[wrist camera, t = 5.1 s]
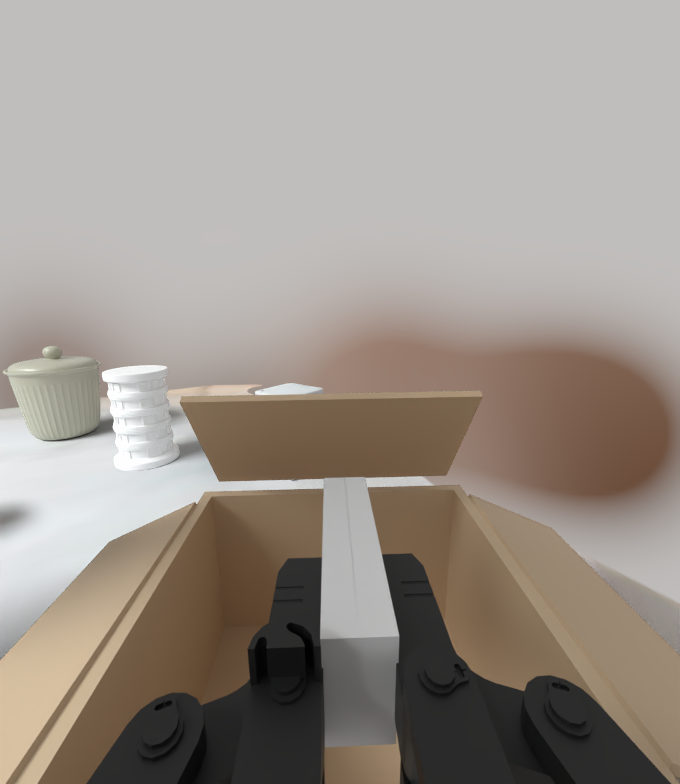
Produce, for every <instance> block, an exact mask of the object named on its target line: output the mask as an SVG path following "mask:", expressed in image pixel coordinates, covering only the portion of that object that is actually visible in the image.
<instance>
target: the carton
mask: <svg viewBox="0 0 680 784" xmlns="http://www.w3.org/2000/svg"><path fill="white" fill-rule="evenodd" d="M367 489H368V493H369V498H370V502H371V507H372V512H373V516H374V521H375V526H376V530H377V535H378V540H379V544H380V549H381V553H382V554H405V553H412V554H413V555H414V556H415V557H416V558H417V559H418V560H419V562H420V563H421V564H422V565H423V566H424V568H425V571H426V574H427V577H428V579H429V584H430V585H431V588H432V590H433V593H434V597H435V598H436V601H437V604H438V607H439V609H440V612H441V615H442V618H443V620H444V623H445V626H446V628H447V631H448V634H449V637H450V639H451V642H452V645H453V647H454V649H455V651H456V653H457V655H458V656H459V657H460V658H462V659H463V660H464V661H465V662H466V663H467V665H468V666H469V668H470V669H471V670H472V671H473V672H474V673H476V674H478V675H479V676H481V677H483V678H484V679H487V680H489V681H492V682H494V683H497V684H501V685H504V686H508V687H511V688H515V689H519V690H522V691H525V688H526V685H527V683H528V682H529V681H530V680H532V679H533V678H535V677H536V676H546V675H551V676H555V677H559V678H562V679H566V680H567V681H569V682H571V683H573V684H575V685H576V686H578V687H580V688H582V689H583V690H584V691H585V692H586V693H587V694H589V695H590V696H591V697H592V698H593V699H594V700H595V701H596V702H597V703H598V704H599V705H600V706H601V707H602V708H603V709H604V710H605V711H606V712H607V714H608V715H609V716H610V717H611V718H612V719H613V720H614V721H615V722H616V723H617V725H618V726H619V727H620V728H621V729H622V730H623V731H624V732H625V733H626V734H627V735H628V737H629V738H630V739H631V740H632V741H633V742H634V743H635V744H636V745H637V746H638V748H639V749H640V750H641V751H642V752H643V753H644V754H645V755H646V756H647V757H648V759H649V760H650V761H651V762H652V763H653V764H654V765H655V766H656V767H657V768H658V770H659V771H660V772H661V773H662V774H663V775H664V776H665V777H666V778H667V779H668V781H669V782H670V783H671V784H680V783H679V782H678V781H677V779H676V778H675V777H677V778H680V655H679V654H678V653H677V652H676V651H675V650H674V649H673V648H672V647H671V646H670V645H669V644H668V643H667V642H666V641H665V640H664V639H663V638H662V637H661V636H660V635H659V634H658V633H657V632H656V631H655V630H654V629H653V628H652V627H651V626H650V625H649V624H648V623H647V622H646V621H645V620H644V619H643V618H642V617H641V616H640V615H639V614H638V613H637V612H636V611H635V610H634V609H633V608H632V607H631V606H630V605H629V604H628V603H627V602H626V601H625V600H624V599H623V598H622V597H621V596H620V595H619V594H618V593H617V592H616V591H615V590H614V589H613V588H612V587H610V586H609V585H608V584H607V583H606V582H605V581H604V580H603V579H602V578H601V577H600V576H599V575H598V574H597V573H596V572H595V571H594V570H593V569H592V568H591V567H590V566H589V565H588V564H587V563H586V562H585V561H584V560H583V559H582V558H581V557H580V556H579V555H578V554H577V553H576V552H575V551H574V550H573V549H572V548H571V547H570V546H569V545H568V544H567V543H566V542H565V541H564V540H563V539H562V538H561V537H560V536H559V535H558V534H557V533H556V532H555V531H554V530H553V529H552V528H550V527H548V526H545V525H543V524H541V523H538V522H536V521H533V520H531V519H528V518H526V517H524V516H521V515H519V514H516V513H514V512H511V511H509V510H507V509H504V508H502V507H499V506H497V505H495V504H492V503H490V502H487V501H485V500H483V499H480V498H478V497H475V496H473V495H471V494H470V495H469V496H467V495H466V493H465V492H464V490H463V489H462V488H461V486H460V485H443V486H405V487H368V488H367ZM323 496H324V489H295V490H258V491H221V492H205V493H204V494H203V496H202V497H201V499H200V500H199V502H198V503H197V504H196V502H194V503H192V504H189V505H187V506H185V507H183V508H181V509H179V510H177V511H174V512H172V513H170V514H168V515H166V516H164V517H162V518H159V519H157V520H155V521H153V522H151V523H149V524H147V525H144V526H142V527H140V528H138V529H136V530H134V531H132V532H129V533H127V534H125V535H123V536H121V537H119V538H117V539H114V540H112V541H110V542H109V543H108V544H107V545H106V546H105V547H104V548H103V549H102V550H101V552H100V553H99V554H98V555H97V556H96V557H95V558H94V559H93V560H92V561H91V562H90V563H89V565H88V566H87V567H86V568H85V569H84V570H83V571H82V572H81V573H80V574H79V575H78V576H77V578H76V579H75V580H74V581H73V582H72V583H71V584H70V585H69V586H68V587H67V588H66V589H65V591H64V592H63V593H62V594H61V595H60V596H59V597H58V598H57V599H56V600H55V601H54V603H53V604H52V605H51V606H50V607H49V608H48V609H47V610H46V611H45V612H44V613H43V614H42V616H41V617H40V618H39V619H38V620H37V621H36V622H35V623H34V624H33V625H32V626H31V627H30V629H29V630H28V631H27V632H26V633H25V634H24V635H23V636H22V637H21V638H20V639H19V641H18V642H17V643H16V644H15V645H14V646H13V647H12V648H11V649H10V650H9V651H8V652H7V654H6V655H5V656H4V657H3V658H2V659H1V660H0V784H86V783H87V782H88V781H89V779H90V778H91V776H92V775H93V773H94V772H95V770H96V769H97V768H98V766H99V765H100V763H101V762H102V760H103V759H104V757H105V756H106V754H107V753H108V752H109V750H110V749H111V747H112V746H113V744H114V743H115V741H116V740H117V739H118V737H119V736H120V734H121V733H122V731H123V730H124V728H125V727H126V726H127V724H128V723H129V722H130V721H131V720H132V719H133V717H134V716H135V715H136V714H137V713H138V712H139V711H140V709H142V708H143V707H145V706H146V705H147V704H149V703H150V702H152V701H153V700H155V699H156V698H159V697H161V696H164V695H167V694H170V693H188V694H189V695H191V696H193V697H195V698H197V699H198V701H199V703H200V705H203V704H206V703H209V702H211V701H214V700H216V699H219V698H222V697H224V696H227V695H229V694H231V693H233V692H235V691H237V690H238V689H239V688H240V687H242V686H243V685H244V684H246V683H247V682H248V680H249V679H250V673H249V662H248V650H247V649H248V647H249V644H250V642H251V640H252V638H253V636H254V635H255V634H256V633H257V632H258V631H259V630H260V629H261V628H262V627H263V626H264V625H266V624H268V623H269V618H270V613H271V608H272V604H273V597H274V592H275V586H276V581H277V576H278V571H279V570H280V569H281V567H282V566H283V565H284V563H285V562H286V560H287V559H288V558H317V557H322V538H323ZM400 762H401V757H400V750H399V744H398V738H397V732H396V744H388V745H367V746H345V747H325V754H324V768H325V784H400Z"/></svg>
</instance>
